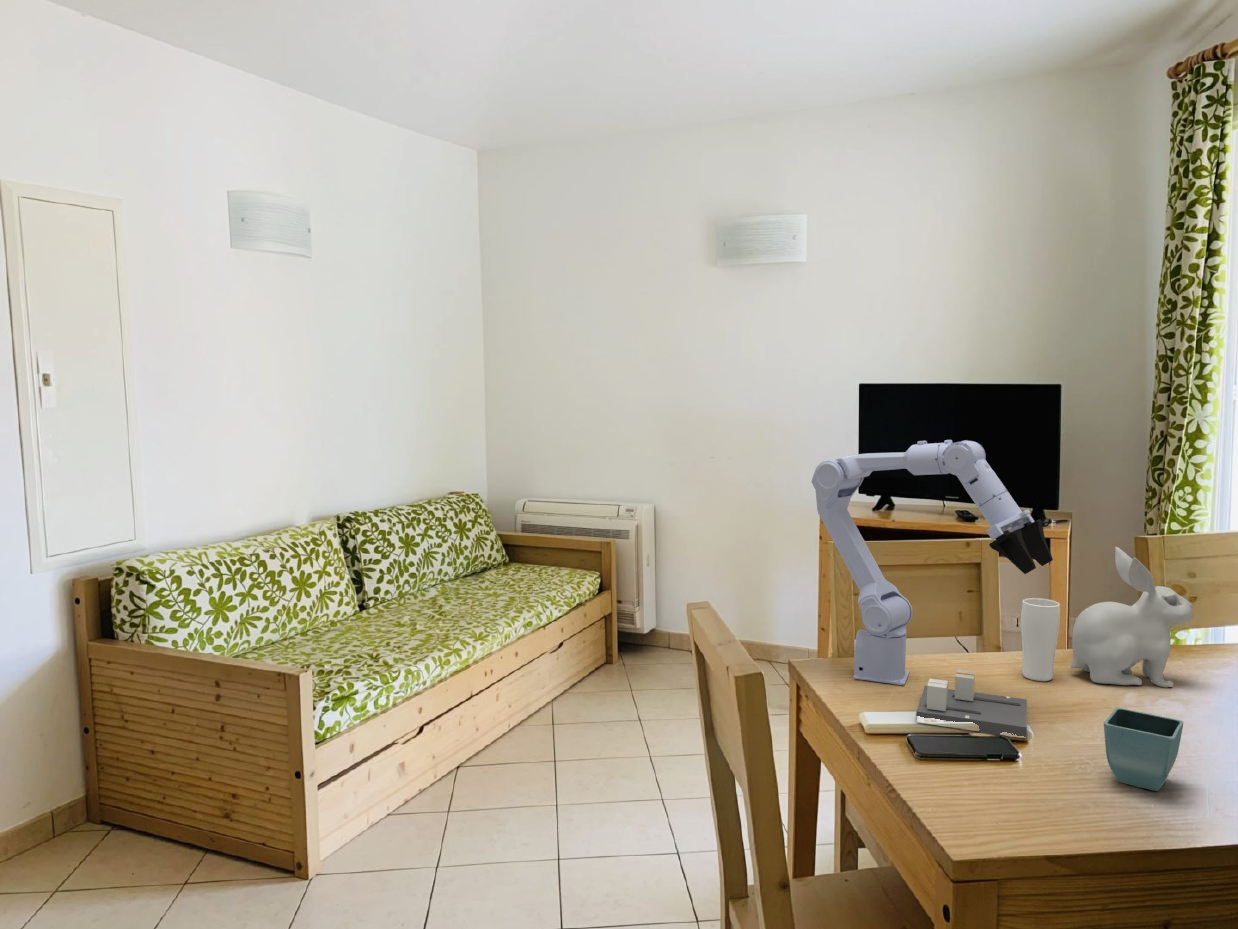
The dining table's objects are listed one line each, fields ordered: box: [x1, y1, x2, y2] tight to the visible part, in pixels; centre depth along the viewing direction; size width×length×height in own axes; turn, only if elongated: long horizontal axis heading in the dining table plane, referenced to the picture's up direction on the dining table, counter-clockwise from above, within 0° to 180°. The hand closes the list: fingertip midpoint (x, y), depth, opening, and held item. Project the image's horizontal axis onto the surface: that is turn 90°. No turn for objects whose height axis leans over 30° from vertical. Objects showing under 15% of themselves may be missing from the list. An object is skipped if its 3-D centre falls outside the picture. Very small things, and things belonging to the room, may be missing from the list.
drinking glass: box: [1020, 597, 1061, 682], centre depth 175 cm, size 7×7×15 cm
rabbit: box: [1070, 546, 1194, 688], centre depth 173 cm, size 12×21×25 cm, turn 77°
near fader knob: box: [926, 678, 949, 711], centre depth 154 cm, size 3×4×4 cm
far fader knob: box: [954, 669, 976, 701], centre depth 159 cm, size 3×4×4 cm
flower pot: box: [1103, 707, 1184, 792], centre depth 130 cm, size 9×9×9 cm
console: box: [915, 685, 1028, 738], centre depth 155 cm, size 17×14×2 cm
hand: (1039, 567), depth 155 cm, fingers open, 7 cm apart
